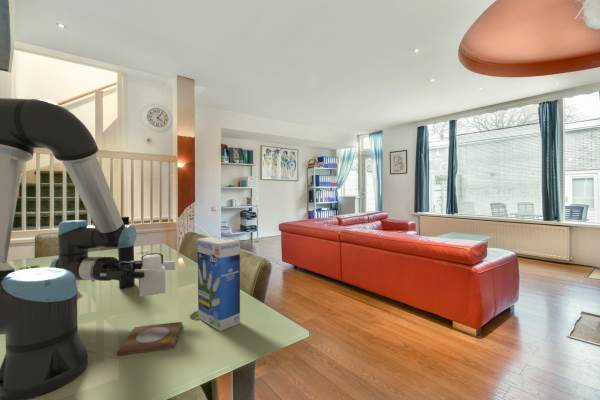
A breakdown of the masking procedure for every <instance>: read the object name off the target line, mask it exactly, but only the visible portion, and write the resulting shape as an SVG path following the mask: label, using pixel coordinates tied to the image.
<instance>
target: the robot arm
mask: <svg viewBox="0 0 600 400" xmlns="http://www.w3.org/2000/svg"><path fill="white" fill-rule="evenodd" d="M36 148H37V149H38V148H39V149H41V148H42V149H44V148H46V149H48V150H49V151H50V152H51V153H52V154H53V156H54V159H56V161H59V162H62V164H63V166H64V167H65V169H66V172H67V173H68V176H69V177H70V180H71V181H72V183H73V184H72V185H74V188H75V190H76V191H77V193H78V196H79V198H80V200H81V201H82V203H83V206H84V208H85V209H86V212H87V214H88V215H89V218H90V219H91V222H92V223H93V225H89V223H88V221H87V220H85V219H79V220H78V219H76V220H75V219H74V220H73V219H72V220H63V221H61V222H59V224H58V232H57V239H58V241H57V242H58V243H57V244H58V257H56V258H54V259H53V260H52V261H51V263H50V266H49V267H48V266H47V267H45V266H44V267H38V268H24V269H20V270H16V268H15V267H14V266H13V265H11V264H9V262H8V257H9V250H10V244H11V239H12V234H13V228H14V227H13V226H14V220H15V215H16V209H17V203H18V197H19V196H18V195H19V191H20V184H21V180H22V172H23V167H24V164H25V163H27V162H29V161H31V160H32V159H33V158H34V152H35V149H36ZM98 152H99V148H98V145H97V142H96V139H95V138H94V137H93V135H92V133H91V132H90V130H89V128H88V127H87V126H86V125H85V124H84V123H83V122H82V121H81V119H80V118H78V117H77V116H76V115H75V114H74V113H72V112H71V111H70V110H68V108H66V107H64V106H62V105H60V104H58V103H56V102H53V101H50V100H48V99H40V98H12V97H11V98H10V97H9V98H7V97H4V98H3V97H0V335H5V337H4V338H5V340H4V341H5V354H4V357H3V360H2V362H1V365H0V400H27V399H31V398H34V397H37V396H38V397H39V396H41V395H44V394H47V393H49V392H52V391H54V390H56V389H59V388H61V387H63V386H64V385H66V384H68V383H70V382H71V381H73V380H75V379H76V378H78V377H79V376H80V375H81V374H82V373H84V371H85V370H86V368H88V365H89V353H88V350H87V348H86V346H85V344H84V342H83V339H82V338H81V336H80V334H79V331H78V330H79V329H78V327H79V325H78V292H79V290H78V289H79V288H78V289H77V286H76V280H80V281H91V282H92V283H93V282H95V281H101V282H102V281H104V282H105V281H106V282H108V281H110V282H111V281H112V280H113V281H118V282H119V281H127V279H129V282H133V281H134V278H135V280H136V279H137V280H139V279H157V271H156V269H141V268H142V259H141V260H135V259H134V260H131V261H130V262H126V261H124V262H119V261H118V258H116V257H115V256H89V250H92V249H118V248H125V247H131V246H132V245H133V244H134V245H135V242H136V240H137V229H136V228H135V226H134V225H132V224H129V225H124V223H123V220H122V218H121V217H122V215H121V213H120V211H119V209H118V206H117V204H116V201H115V199H114V197H113V194H112V191H111V188H110V186H109V183H108V182H107V179H106V176H105V174H104V170H103V168H102V166H101V164H100V162H99V158H98V157H97V154H98ZM163 266H165V271H175V270H176V261H175V260H174V261H168V260H167V261H164V260H163ZM131 268H132V270H131ZM15 270H16V271H15ZM77 291H78V292H77Z"/></svg>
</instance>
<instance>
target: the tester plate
mask: <svg viewBox="0 0 600 400" xmlns="http://www.w3.org/2000/svg"><path fill="white" fill-rule="evenodd" d="M182 326H183V322H182V321H177V322H167V323H159V324H151V325H150V324H149V325H141V326H134V328H133V329H132V330H131V332H130V333H129V334H128V335H127V337H126V338H125V340H124V341H123V343H122V344H121V345H120V347H119V348H118V350H117V351H116V356H117V357H118V356H125V355H132V354H140V353H148V352H155V351H164V350H169V349H174V347H175V345H176V343H177V340H178V337H179V334H180V332H181V329H182Z"/></svg>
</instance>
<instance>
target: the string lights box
mask: <svg viewBox="0 0 600 400" xmlns="http://www.w3.org/2000/svg"><path fill="white" fill-rule="evenodd" d="M196 240H197V298H198V299H197V301H198V302H197V305H198V306H197V307H198V308H197V310H198V311H197V312H198V315H197V316H198V319H199V320H201V321H203V322H204V323H206V324H208V325H209V326H210V327H213V328H214V329H216V331H219V332H222V331H225V330H227V329H230V328H232V327H235V326H237V325H240V323H241V261H240V260H241V241H240V240H234V239H231V238H227V237H220V236H217V235H216V236H209V237H200V238H197V239H196Z"/></svg>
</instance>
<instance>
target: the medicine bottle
mask: <svg viewBox="0 0 600 400" xmlns="http://www.w3.org/2000/svg"><path fill="white" fill-rule="evenodd" d="M141 260H142V268H141V269H156V271H157V279H138V296H139V297H146V296H154V295H161V294H165V293H166V287H167V286H166V285H167V283H166V276H167V275H166V270H165V266H163V261H164V255H163V253H160V252H153V253H146V254H144V255H142V256H141Z"/></svg>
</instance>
